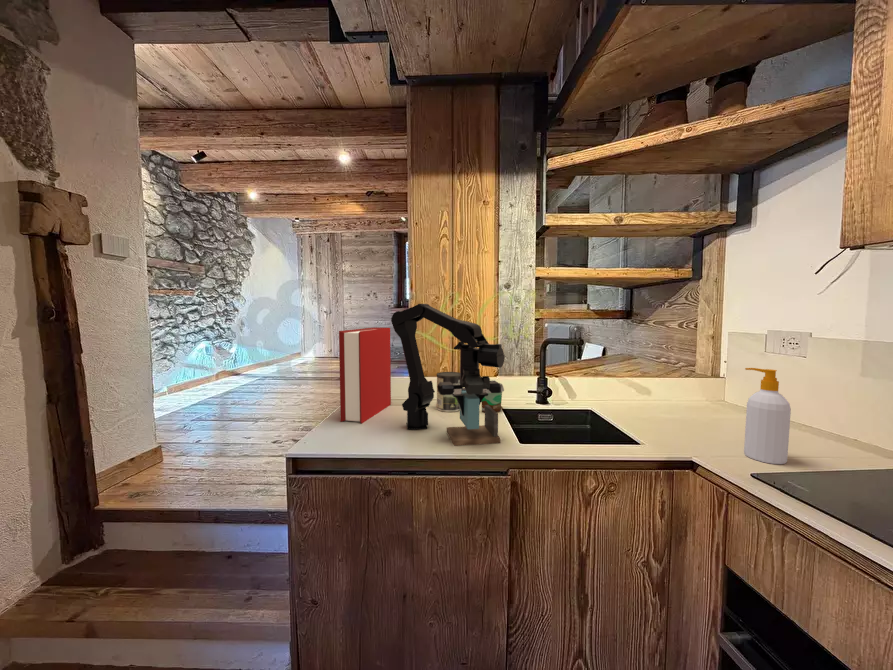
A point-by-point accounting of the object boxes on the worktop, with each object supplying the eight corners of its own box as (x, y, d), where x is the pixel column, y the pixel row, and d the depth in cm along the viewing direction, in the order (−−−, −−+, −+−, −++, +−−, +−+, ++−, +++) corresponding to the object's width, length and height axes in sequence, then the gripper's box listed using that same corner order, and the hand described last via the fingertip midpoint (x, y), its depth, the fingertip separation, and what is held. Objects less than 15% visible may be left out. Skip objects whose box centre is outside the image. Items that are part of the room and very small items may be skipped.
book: (361, 423, 123) (360, 331, 121) (340, 422, 125) (338, 330, 122) (392, 403, 149) (391, 327, 147) (374, 402, 151) (373, 327, 149)
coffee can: (467, 407, 144) (467, 373, 143) (453, 413, 135) (453, 377, 134) (445, 403, 149) (445, 370, 148) (431, 409, 141) (431, 374, 140)
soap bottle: (741, 448, 102) (746, 365, 100) (787, 457, 95) (793, 369, 93) (738, 457, 95) (743, 369, 94) (787, 467, 89) (793, 373, 87)
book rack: (453, 445, 103) (453, 417, 102) (446, 432, 115) (446, 406, 114) (500, 442, 105) (500, 414, 105) (488, 429, 117) (488, 404, 116)
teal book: (467, 429, 104) (467, 399, 103) (459, 418, 115) (459, 390, 114) (479, 428, 104) (479, 398, 104) (470, 417, 115) (470, 390, 115)
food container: (493, 415, 132) (494, 389, 132) (479, 412, 136) (480, 387, 135) (509, 408, 142) (509, 383, 142) (495, 406, 146) (496, 382, 145)
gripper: (443, 369, 99) (443, 425, 100) (507, 368, 102) (506, 421, 103) (437, 363, 110) (437, 413, 111) (495, 362, 113) (495, 411, 114)
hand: (469, 415), depth 109 cm, fingers closed on teal book, 3 cm apart
